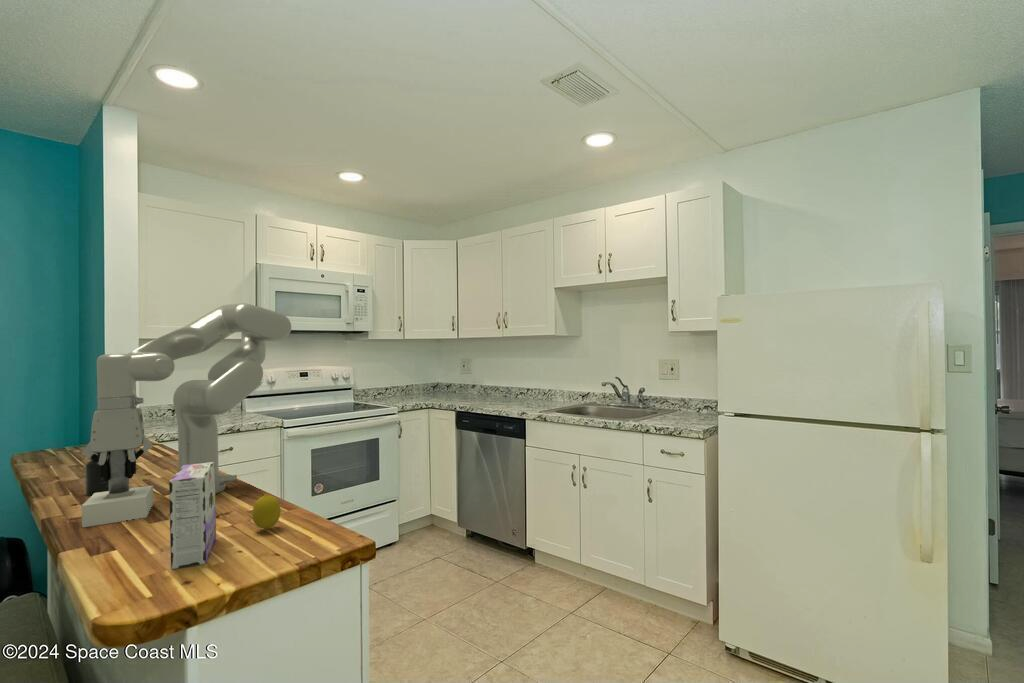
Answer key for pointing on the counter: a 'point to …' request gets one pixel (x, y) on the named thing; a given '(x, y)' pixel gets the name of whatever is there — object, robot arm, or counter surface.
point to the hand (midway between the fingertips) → (118, 478)
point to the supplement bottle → (95, 478)
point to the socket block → (117, 506)
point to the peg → (118, 471)
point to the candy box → (192, 515)
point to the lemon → (266, 512)
